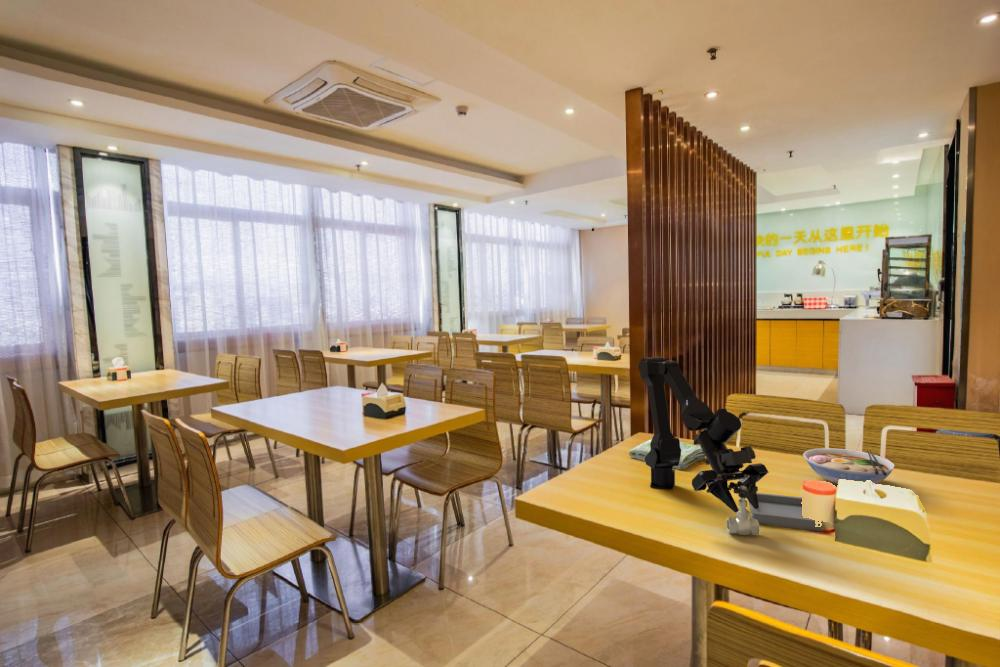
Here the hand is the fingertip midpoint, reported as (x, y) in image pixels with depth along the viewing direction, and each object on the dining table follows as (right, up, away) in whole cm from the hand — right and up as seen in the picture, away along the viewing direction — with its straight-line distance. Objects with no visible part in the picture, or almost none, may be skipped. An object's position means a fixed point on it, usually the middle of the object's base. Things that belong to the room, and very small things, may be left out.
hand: (747, 510), depth 121 cm
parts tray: (+15, -5, +12) cm, 20 cm away
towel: (+1, -3, +61) cm, 61 cm away
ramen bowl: (+46, -3, +32) cm, 56 cm away
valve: (0, -7, +2) cm, 7 cm away
